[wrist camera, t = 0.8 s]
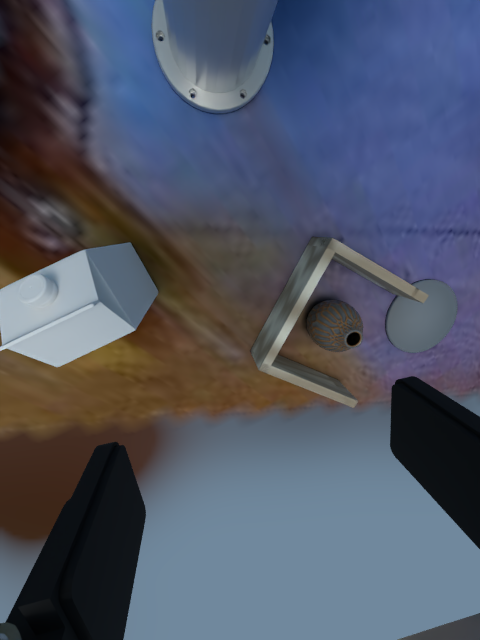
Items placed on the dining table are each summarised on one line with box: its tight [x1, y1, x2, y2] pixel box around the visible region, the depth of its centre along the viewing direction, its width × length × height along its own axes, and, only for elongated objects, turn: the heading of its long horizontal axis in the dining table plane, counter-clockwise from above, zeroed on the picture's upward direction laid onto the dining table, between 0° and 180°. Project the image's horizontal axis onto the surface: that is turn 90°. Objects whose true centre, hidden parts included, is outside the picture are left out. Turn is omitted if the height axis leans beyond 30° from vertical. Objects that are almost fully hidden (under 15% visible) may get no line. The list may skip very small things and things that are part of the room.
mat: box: [385, 279, 457, 353], centre depth 43 cm, size 12×12×1 cm
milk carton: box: [0, 242, 159, 367], centre depth 26 cm, size 7×7×19 cm
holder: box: [250, 237, 429, 408], centre depth 38 cm, size 18×16×6 cm
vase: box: [307, 300, 363, 352], centre depth 37 cm, size 7×7×9 cm
